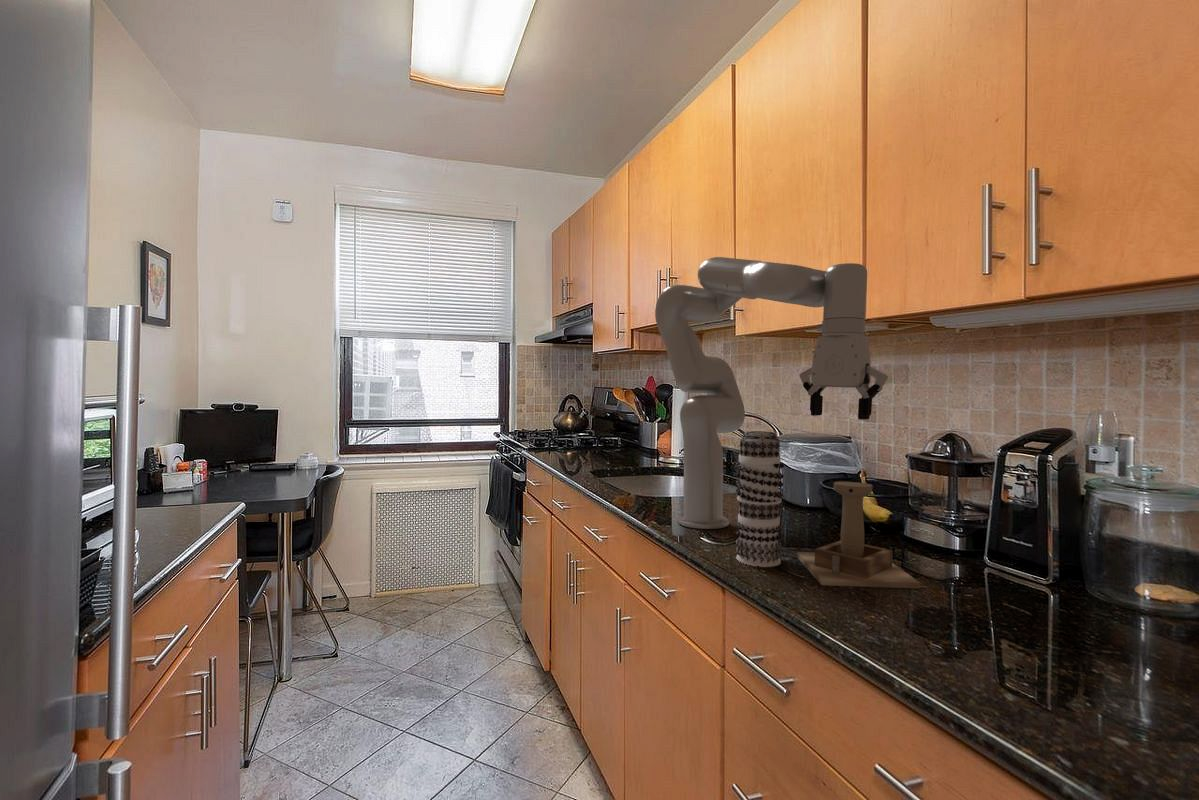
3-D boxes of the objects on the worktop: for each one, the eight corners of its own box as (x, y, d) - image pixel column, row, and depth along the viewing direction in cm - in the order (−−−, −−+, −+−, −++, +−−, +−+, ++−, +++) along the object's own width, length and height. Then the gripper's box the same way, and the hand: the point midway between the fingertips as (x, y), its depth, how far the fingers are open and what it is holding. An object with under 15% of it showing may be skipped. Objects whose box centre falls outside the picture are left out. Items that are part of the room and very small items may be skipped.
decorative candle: (765, 551, 115) (767, 429, 115) (793, 565, 106) (794, 433, 106) (725, 555, 113) (726, 430, 112) (750, 569, 104) (751, 434, 103)
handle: (870, 572, 99) (870, 487, 99) (831, 566, 103) (831, 484, 102) (873, 565, 103) (873, 483, 103) (835, 559, 107) (836, 480, 106)
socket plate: (796, 557, 112) (797, 537, 111) (880, 559, 110) (881, 539, 110) (821, 585, 96) (821, 561, 96) (919, 588, 94) (920, 564, 94)
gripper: (792, 330, 114) (789, 414, 114) (879, 325, 100) (874, 421, 101) (812, 332, 118) (809, 413, 119) (898, 328, 105) (893, 420, 106)
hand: (839, 417), depth 110 cm, fingers open, 9 cm apart
